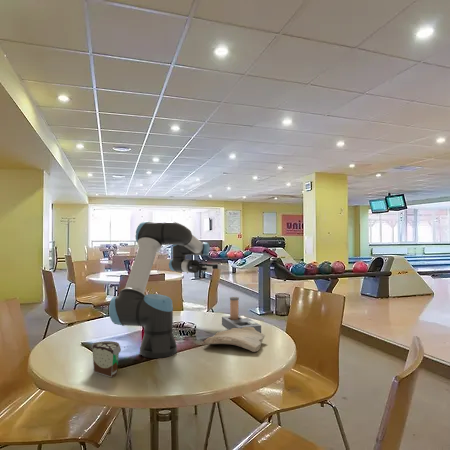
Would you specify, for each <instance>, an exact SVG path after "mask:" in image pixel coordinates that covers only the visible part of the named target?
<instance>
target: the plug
mask: <svg viewBox="0 0 450 450" xmlns="http://www.w3.org/2000/svg"><path fill="white" fill-rule="evenodd" d="M239 301H240V297H238V296H230V297H229V303H230V304H229V305H230V306H229V307H230V309H229V310H230V312H229V314H230V320H239V313H240V312H239V304H240V303H239Z"/></svg>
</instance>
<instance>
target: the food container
mask: <svg viewBox="0 0 450 450" xmlns="http://www.w3.org/2000/svg"><path fill="white" fill-rule="evenodd" d="M91 350H92V360H93V361H92V362H93V373H96V374H99V375H102V376H106V377H108V378H109V377H110V378H114V377H115V376H116V375H117V373H118V367H119V366H118V365H119V353H121V351H122V349H121V345H120V343H119V342H117V341H111V340H110V341H109V340H104V341H95V342H93V343H92V345H91Z"/></svg>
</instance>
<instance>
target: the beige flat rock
mask: <svg viewBox="0 0 450 450" xmlns="http://www.w3.org/2000/svg"><path fill="white" fill-rule="evenodd" d="M264 339H265V334H264V333H262V332H261V333H260V332H258V331H256V330H255V328H253V327H244V328H242V329H241V328H232V329H230V330H229V329H227V330H221V331H218V332H216V333H215V334H214V335H213V336H209V337H207V338H206V339H204V340H203V342H202V346H206V345H232V346H236V347H238V348H239V347H240V348H243V349H246V350H248V351H251V352H253V353H256V352H258V351H259V350H261V346H262V344H263V340H264Z"/></svg>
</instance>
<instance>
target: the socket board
mask: <svg viewBox="0 0 450 450" xmlns="http://www.w3.org/2000/svg"><path fill="white" fill-rule="evenodd" d="M221 325H222V326H224V327H225V328H226V329H227V330H230V329H232V328H241V329H242V328H244V327H253V328H255V330H256V331H258V332H260V333H262V325H261V324H259V323H258V322H256V321H254V320H252V319H251V318H248V317H247V316H246V315H243V314H240V315H239V320H230V316H229V315H228V316H222V317H221Z"/></svg>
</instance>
